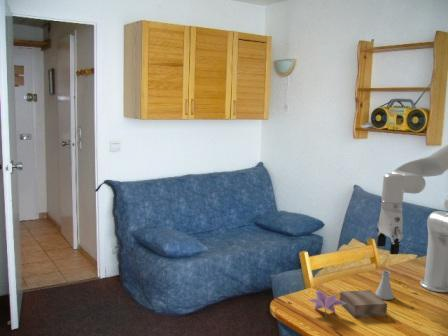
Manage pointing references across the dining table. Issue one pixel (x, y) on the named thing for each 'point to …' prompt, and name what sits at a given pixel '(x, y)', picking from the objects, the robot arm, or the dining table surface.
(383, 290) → the flask
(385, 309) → the walnut block
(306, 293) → the dining table surface
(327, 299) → the lily
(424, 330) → the dining table surface
